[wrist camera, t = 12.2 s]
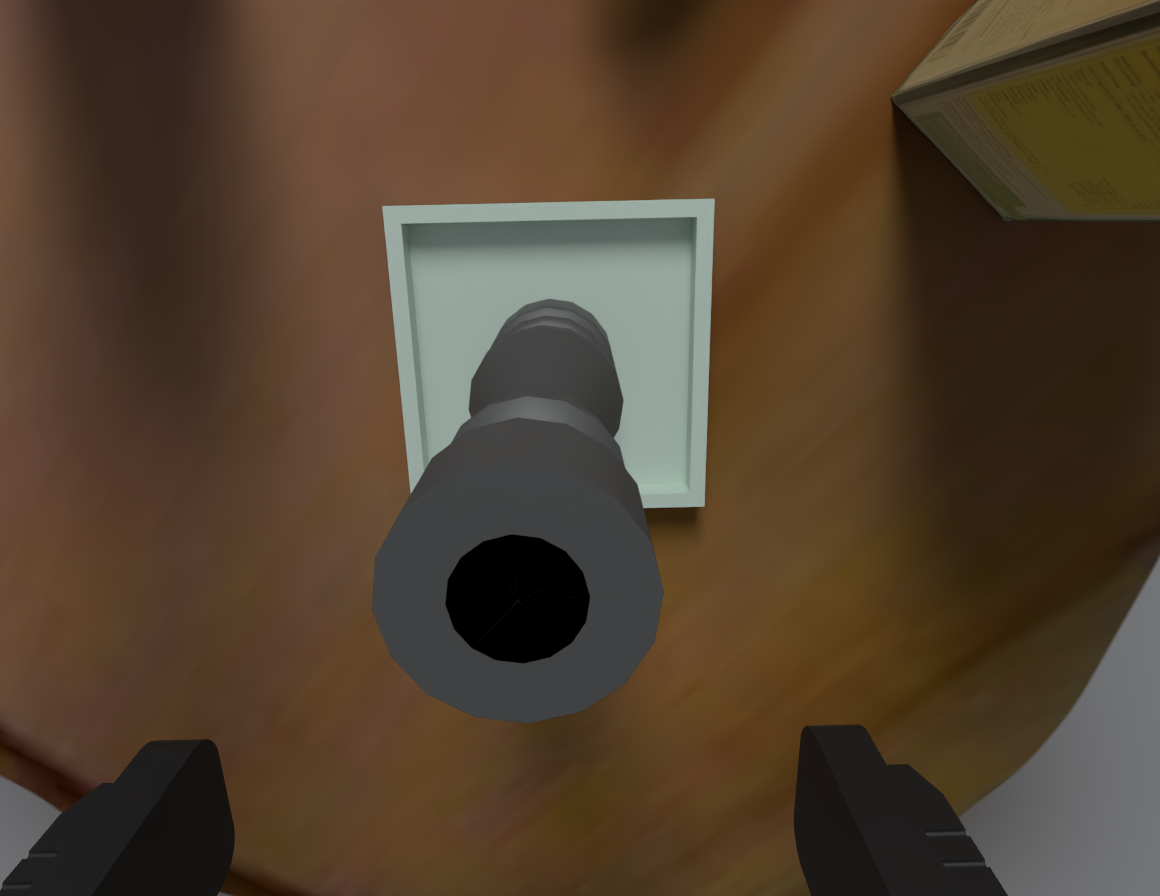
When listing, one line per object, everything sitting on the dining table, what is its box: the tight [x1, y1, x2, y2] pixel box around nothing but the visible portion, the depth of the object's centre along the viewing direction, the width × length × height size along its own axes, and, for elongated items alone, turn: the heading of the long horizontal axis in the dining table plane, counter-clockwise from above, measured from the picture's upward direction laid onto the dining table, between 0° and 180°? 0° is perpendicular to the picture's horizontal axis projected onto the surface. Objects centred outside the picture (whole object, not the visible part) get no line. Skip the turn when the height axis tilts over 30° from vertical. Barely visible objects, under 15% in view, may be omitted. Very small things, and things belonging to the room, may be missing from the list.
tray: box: [382, 199, 715, 508], centre depth 38 cm, size 16×16×2 cm
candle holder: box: [372, 299, 664, 723], centre depth 26 cm, size 6×6×25 cm
